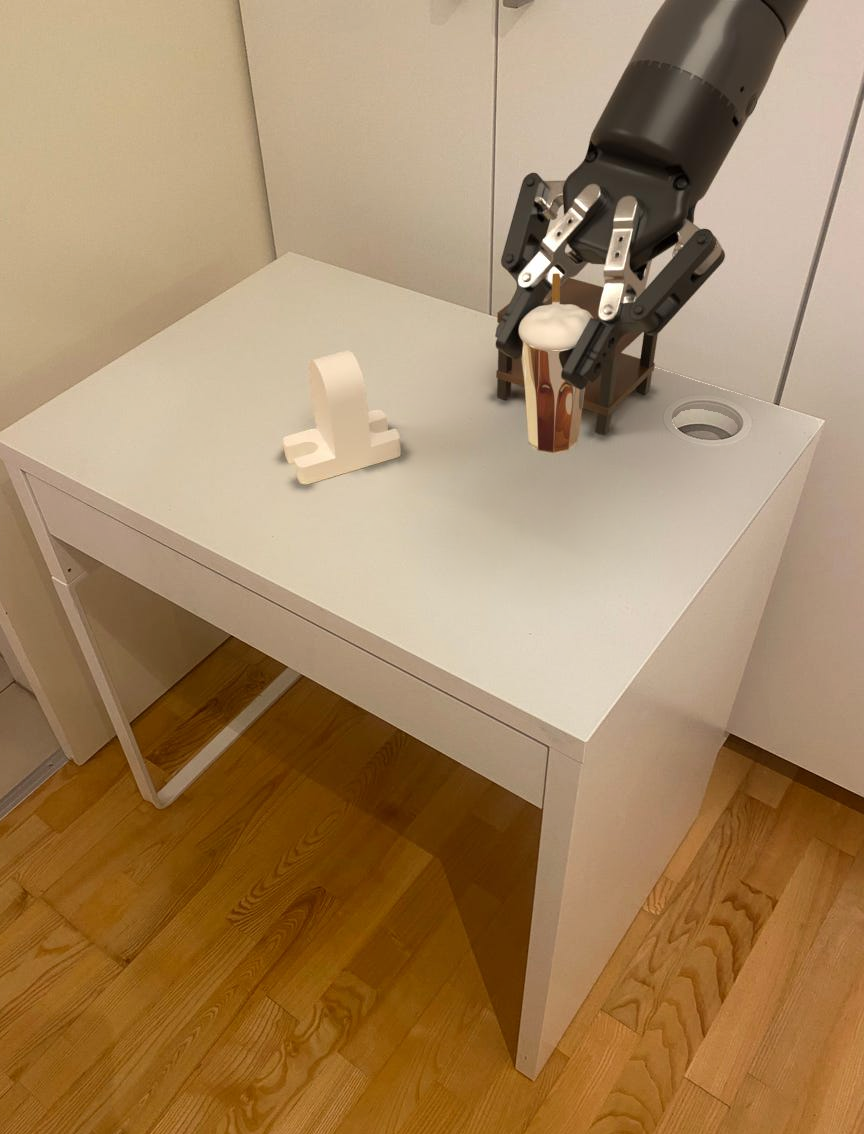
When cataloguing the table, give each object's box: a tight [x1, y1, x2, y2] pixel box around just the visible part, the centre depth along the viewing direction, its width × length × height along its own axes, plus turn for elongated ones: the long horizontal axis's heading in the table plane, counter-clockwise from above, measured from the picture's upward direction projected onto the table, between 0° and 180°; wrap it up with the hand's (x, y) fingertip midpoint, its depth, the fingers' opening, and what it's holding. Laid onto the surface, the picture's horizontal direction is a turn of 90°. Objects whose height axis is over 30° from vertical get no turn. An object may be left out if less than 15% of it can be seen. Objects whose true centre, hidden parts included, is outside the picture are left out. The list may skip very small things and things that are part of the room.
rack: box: [495, 277, 659, 436], centre depth 93 cm, size 12×9×9 cm
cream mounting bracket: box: [282, 349, 402, 485], centre depth 88 cm, size 5×10×10 cm, turn 112°
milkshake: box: [519, 273, 593, 455], centre depth 62 cm, size 4×5×10 cm
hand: (538, 367), depth 60 cm, fingers closed on milkshake, 4 cm apart
